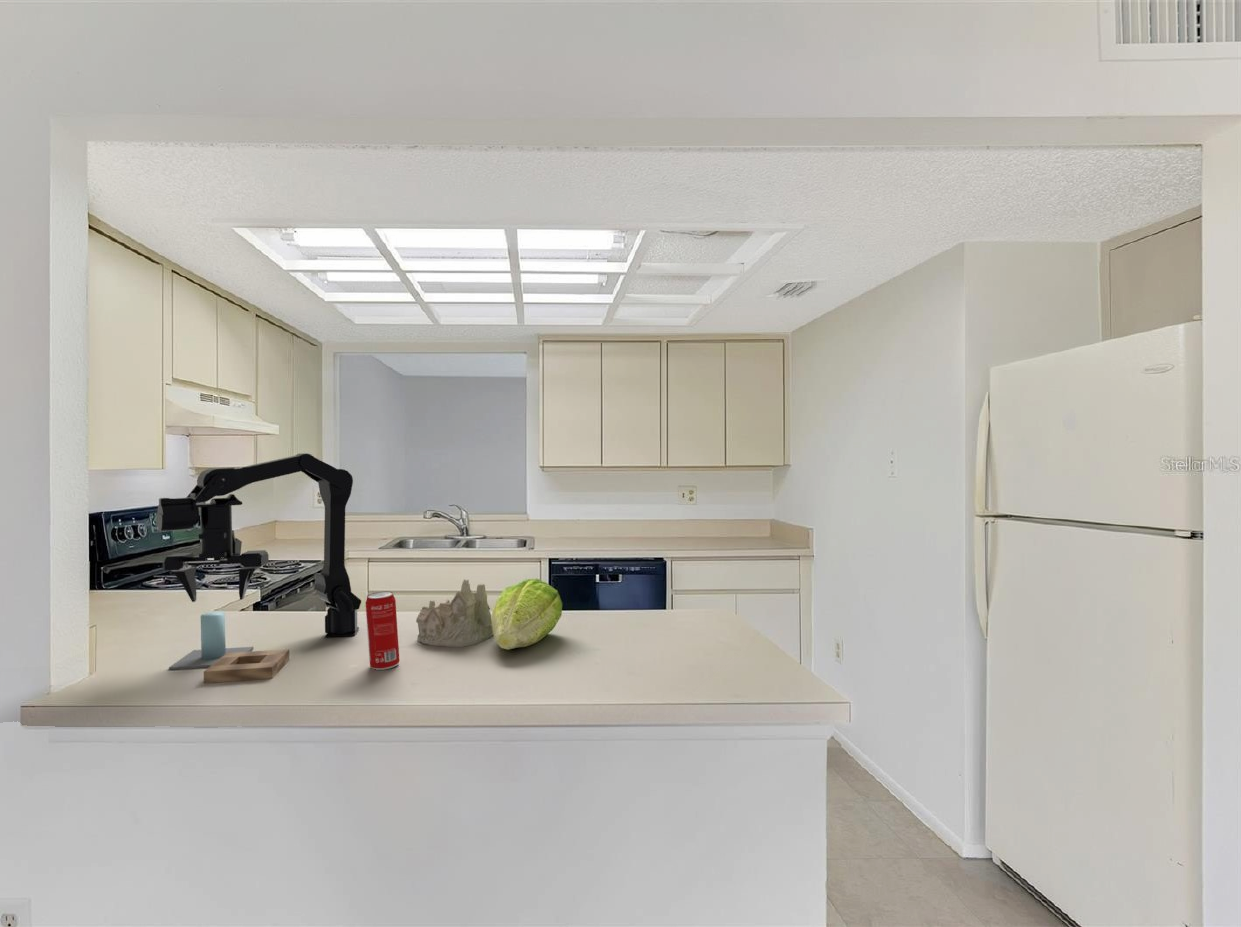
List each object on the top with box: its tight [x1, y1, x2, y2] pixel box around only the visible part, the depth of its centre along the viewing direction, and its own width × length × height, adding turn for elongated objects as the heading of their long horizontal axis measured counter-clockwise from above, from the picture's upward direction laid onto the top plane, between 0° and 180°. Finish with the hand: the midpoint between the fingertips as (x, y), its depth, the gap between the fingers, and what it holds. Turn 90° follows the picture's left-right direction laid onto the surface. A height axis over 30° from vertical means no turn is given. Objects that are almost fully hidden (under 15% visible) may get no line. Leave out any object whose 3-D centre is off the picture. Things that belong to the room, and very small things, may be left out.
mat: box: [168, 646, 254, 671], centre depth 142 cm, size 12×12×1 cm
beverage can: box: [365, 590, 400, 671], centre depth 137 cm, size 6×6×15 cm
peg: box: [200, 611, 227, 660], centre depth 142 cm, size 4×4×9 cm
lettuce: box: [491, 578, 563, 651], centre depth 152 cm, size 14×24×15 cm
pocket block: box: [203, 648, 290, 684], centre depth 134 cm, size 12×12×2 cm
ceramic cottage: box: [415, 579, 494, 648], centre depth 158 cm, size 16×16×15 cm
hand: (218, 600), depth 143 cm, fingers open, 9 cm apart
